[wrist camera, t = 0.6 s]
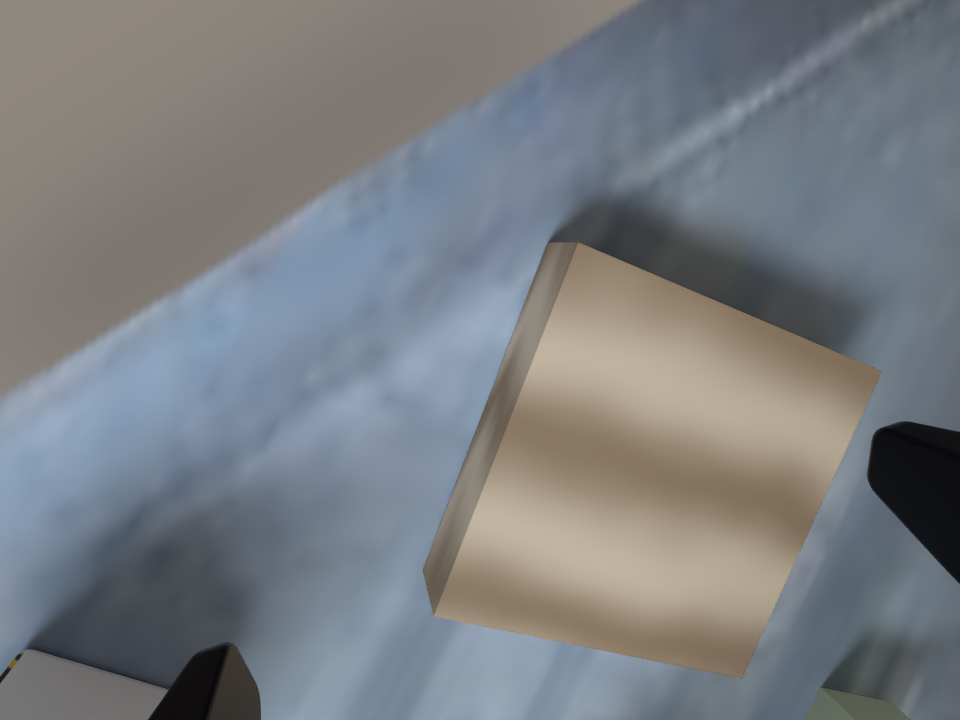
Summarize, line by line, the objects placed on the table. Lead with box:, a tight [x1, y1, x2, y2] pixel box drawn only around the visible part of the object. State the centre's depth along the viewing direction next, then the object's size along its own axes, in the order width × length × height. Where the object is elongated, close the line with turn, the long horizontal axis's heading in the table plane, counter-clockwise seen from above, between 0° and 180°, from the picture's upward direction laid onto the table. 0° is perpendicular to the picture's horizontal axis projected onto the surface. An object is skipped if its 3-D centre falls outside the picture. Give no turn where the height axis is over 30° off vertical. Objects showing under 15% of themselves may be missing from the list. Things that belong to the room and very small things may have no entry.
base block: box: [423, 242, 882, 678], centre depth 23 cm, size 14×14×3 cm
